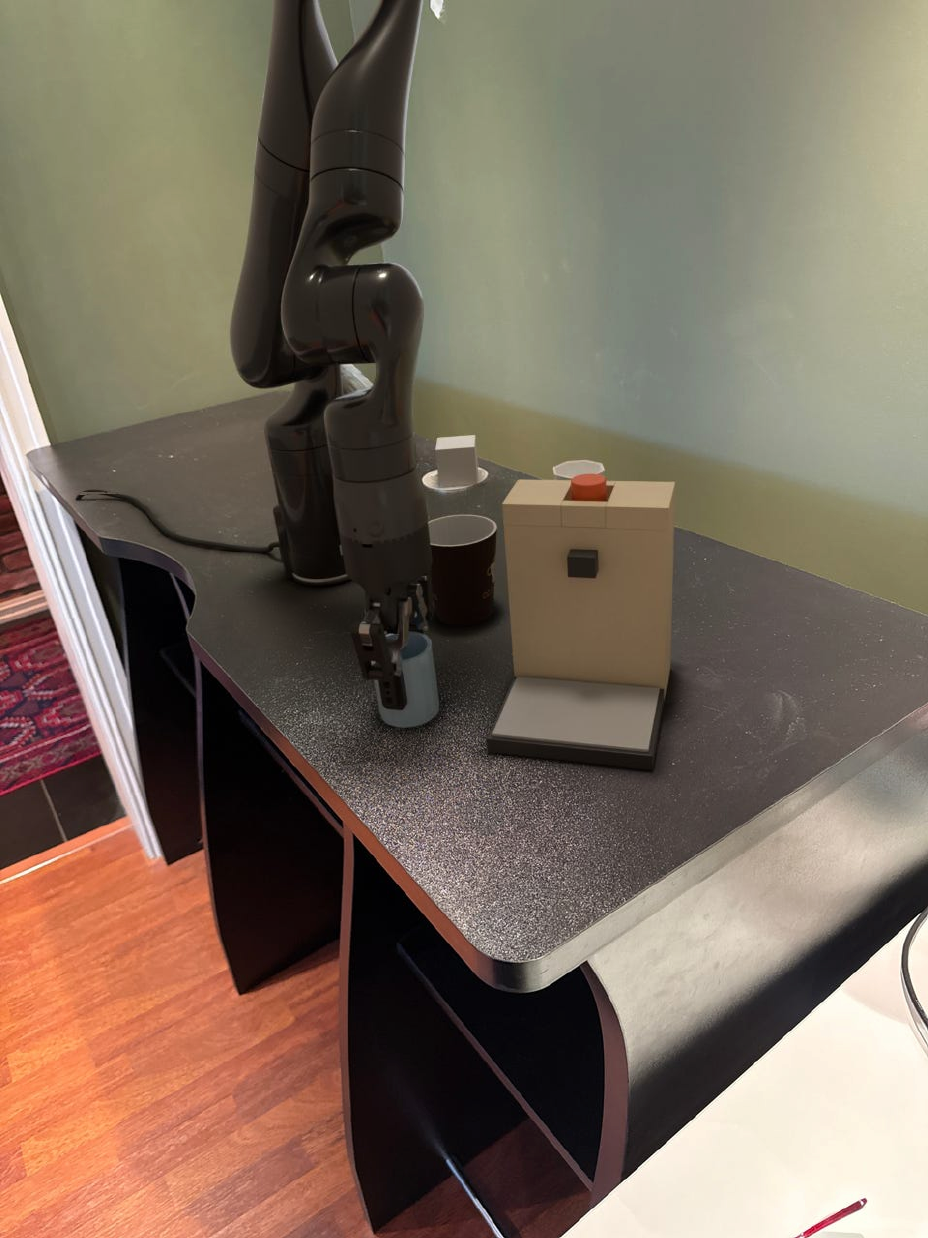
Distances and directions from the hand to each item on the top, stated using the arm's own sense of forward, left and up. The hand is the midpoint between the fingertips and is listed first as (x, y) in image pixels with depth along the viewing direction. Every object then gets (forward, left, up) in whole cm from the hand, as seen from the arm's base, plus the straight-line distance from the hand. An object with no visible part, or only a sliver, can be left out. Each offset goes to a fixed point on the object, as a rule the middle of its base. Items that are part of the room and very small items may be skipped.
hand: (406, 687), depth 82 cm
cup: (+7, +44, -3) cm, 45 cm away
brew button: (+16, +8, +15) cm, 24 cm away
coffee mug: (0, +21, -3) cm, 21 cm away
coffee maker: (+16, +3, -3) cm, 16 cm away
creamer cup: (0, 0, -3) cm, 3 cm away
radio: (-34, +71, -3) cm, 79 cm away
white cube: (-14, +62, -3) cm, 64 cm away
